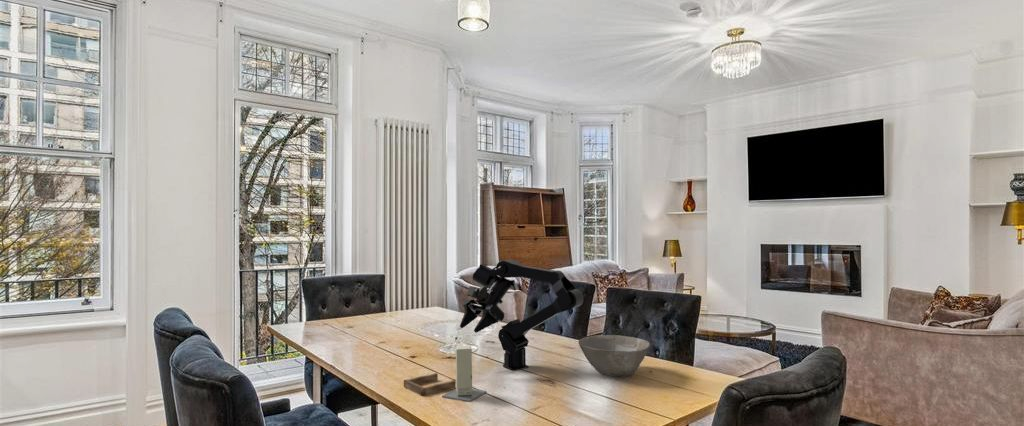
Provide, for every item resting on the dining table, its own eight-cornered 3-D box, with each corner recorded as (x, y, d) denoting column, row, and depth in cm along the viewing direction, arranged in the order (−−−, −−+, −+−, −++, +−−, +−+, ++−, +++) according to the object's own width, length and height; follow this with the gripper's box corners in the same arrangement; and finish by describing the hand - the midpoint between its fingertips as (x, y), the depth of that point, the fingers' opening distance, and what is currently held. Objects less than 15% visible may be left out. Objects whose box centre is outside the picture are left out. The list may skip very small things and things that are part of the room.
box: (472, 395, 145) (472, 348, 145) (456, 396, 144) (456, 349, 144) (471, 389, 150) (470, 344, 150) (455, 390, 149) (455, 345, 149)
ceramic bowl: (622, 389, 150) (622, 354, 150) (564, 372, 167) (563, 341, 168) (665, 374, 165) (665, 342, 165) (607, 360, 182) (607, 331, 182)
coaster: (459, 388, 153) (459, 386, 153) (486, 392, 148) (486, 390, 148) (442, 397, 145) (442, 395, 145) (469, 402, 140) (469, 400, 140)
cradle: (435, 379, 161) (435, 373, 161) (455, 387, 153) (455, 381, 153) (403, 386, 154) (403, 380, 154) (422, 396, 146) (422, 388, 146)
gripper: (467, 275, 182) (438, 310, 175) (496, 279, 166) (466, 318, 160) (486, 295, 186) (459, 330, 179) (516, 301, 171) (488, 340, 164)
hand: (467, 329), depth 170 cm, fingers open, 9 cm apart
